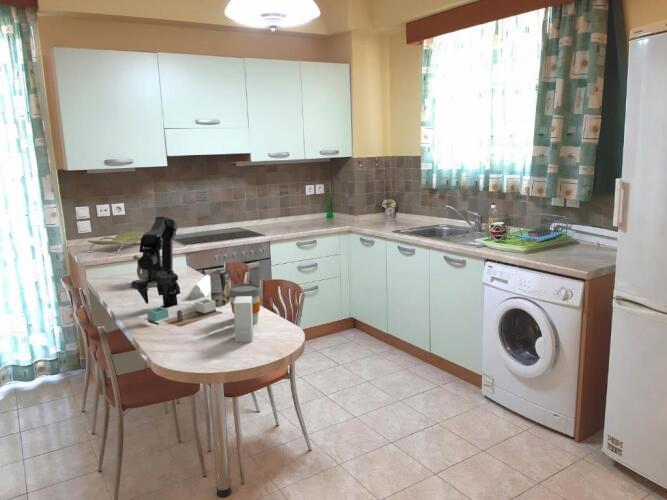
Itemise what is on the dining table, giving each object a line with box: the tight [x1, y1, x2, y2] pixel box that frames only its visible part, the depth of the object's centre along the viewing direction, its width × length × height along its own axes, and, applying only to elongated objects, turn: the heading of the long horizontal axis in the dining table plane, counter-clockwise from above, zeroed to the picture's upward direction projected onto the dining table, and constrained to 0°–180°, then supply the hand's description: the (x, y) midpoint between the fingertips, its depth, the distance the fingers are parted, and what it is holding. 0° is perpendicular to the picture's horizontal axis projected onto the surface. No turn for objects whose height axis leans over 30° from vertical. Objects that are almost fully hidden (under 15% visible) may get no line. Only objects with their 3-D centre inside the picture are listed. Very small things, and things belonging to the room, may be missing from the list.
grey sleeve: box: [194, 298, 217, 316], centre depth 226 cm, size 6×6×5 cm
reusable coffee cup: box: [230, 283, 262, 326], centre depth 216 cm, size 13×13×15 cm
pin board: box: [162, 302, 223, 327], centre depth 221 cm, size 12×22×6 cm, turn 142°
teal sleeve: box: [146, 306, 170, 325], centre depth 221 cm, size 6×6×5 cm
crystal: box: [189, 274, 211, 300], centre depth 263 cm, size 7×7×24 cm
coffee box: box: [209, 268, 232, 307], centre depth 240 cm, size 9×6×16 cm
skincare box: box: [233, 296, 254, 344], centre depth 198 cm, size 8×7×16 cm
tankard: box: [132, 254, 162, 288], centre depth 282 cm, size 20×13×15 cm, turn 58°
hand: (156, 300), depth 220 cm, fingers open, 9 cm apart
